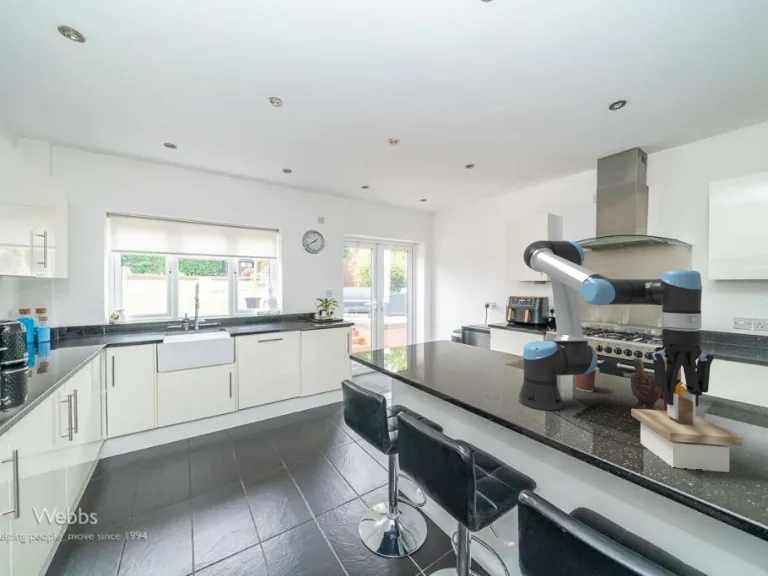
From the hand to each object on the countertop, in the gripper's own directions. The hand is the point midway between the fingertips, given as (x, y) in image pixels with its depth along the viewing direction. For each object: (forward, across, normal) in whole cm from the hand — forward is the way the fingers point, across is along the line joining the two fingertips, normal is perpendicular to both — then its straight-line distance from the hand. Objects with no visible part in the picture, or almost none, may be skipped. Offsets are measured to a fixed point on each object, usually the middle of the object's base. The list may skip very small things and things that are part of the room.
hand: (681, 417), depth 81 cm
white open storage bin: (+10, 0, 0) cm, 10 cm away
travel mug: (+11, +29, +48) cm, 57 cm away
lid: (+3, 0, 0) cm, 3 cm away
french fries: (+11, +13, +18) cm, 25 cm away
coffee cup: (+11, +1, +54) cm, 55 cm away
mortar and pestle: (+11, +10, +30) cm, 33 cm away
